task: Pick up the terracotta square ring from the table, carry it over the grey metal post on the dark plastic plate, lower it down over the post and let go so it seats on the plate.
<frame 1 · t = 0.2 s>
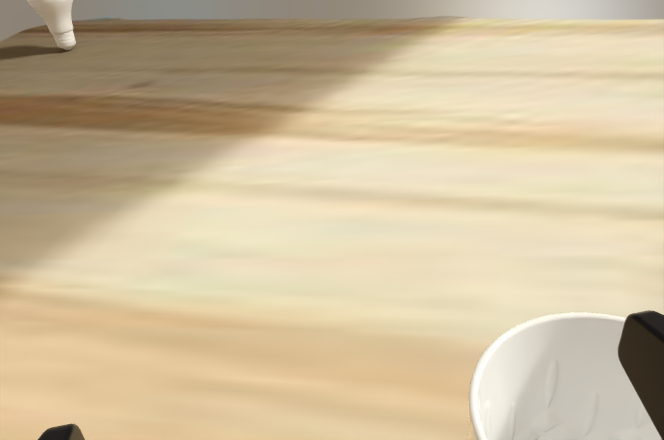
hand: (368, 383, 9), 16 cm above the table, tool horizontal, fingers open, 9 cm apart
lightbulb: (69, 51, 83), on the table
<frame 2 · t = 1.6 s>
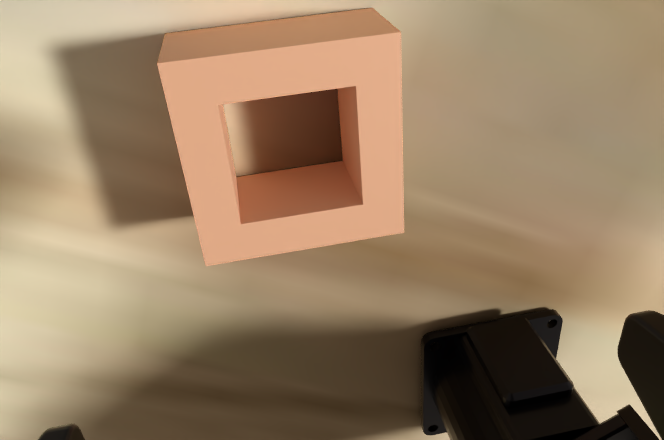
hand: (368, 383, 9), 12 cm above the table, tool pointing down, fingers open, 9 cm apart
ring: (283, 118, 19), on the table
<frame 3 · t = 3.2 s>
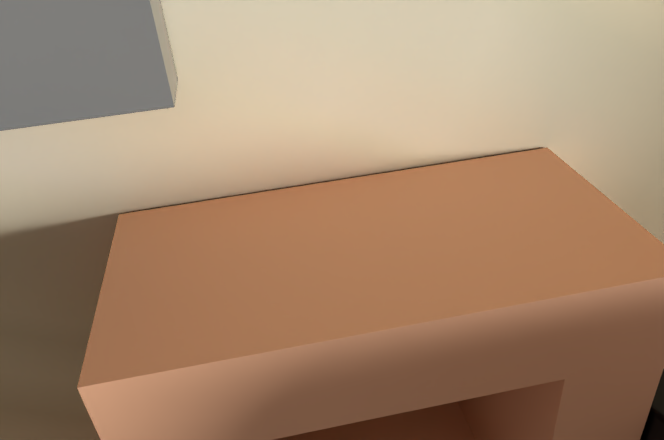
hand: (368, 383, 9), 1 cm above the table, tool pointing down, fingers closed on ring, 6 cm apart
ring: (354, 339, 10), on the table, touching gripper
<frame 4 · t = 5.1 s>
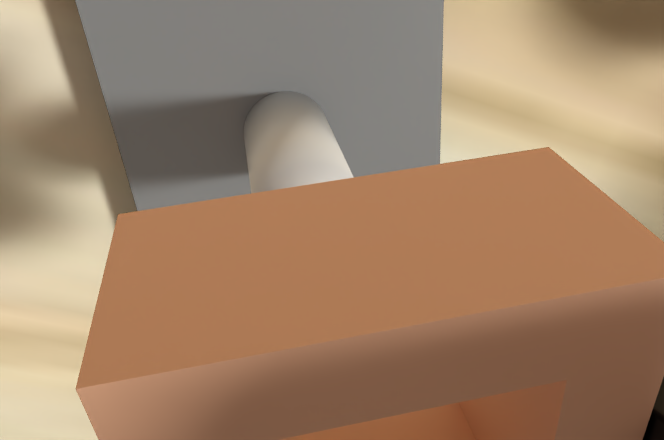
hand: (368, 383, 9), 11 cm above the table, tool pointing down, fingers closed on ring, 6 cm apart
ring: (354, 339, 10), point 10 cm above the table, touching gripper
post plate: (282, 120, 19), on the table
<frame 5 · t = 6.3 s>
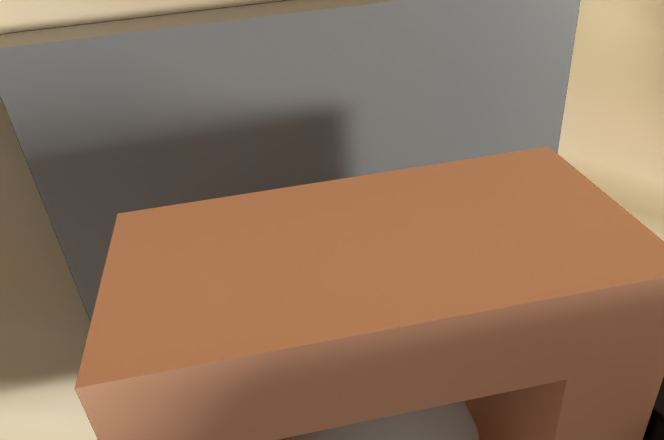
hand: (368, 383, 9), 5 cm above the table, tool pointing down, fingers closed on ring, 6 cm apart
ring: (354, 339, 10), point 4 cm above the table, touching gripper
post plate: (317, 231, 13), on the table
when the fingers open (3 cm above the table, at t = 7.0 s): ring drops 1 cm, resting on post plate.
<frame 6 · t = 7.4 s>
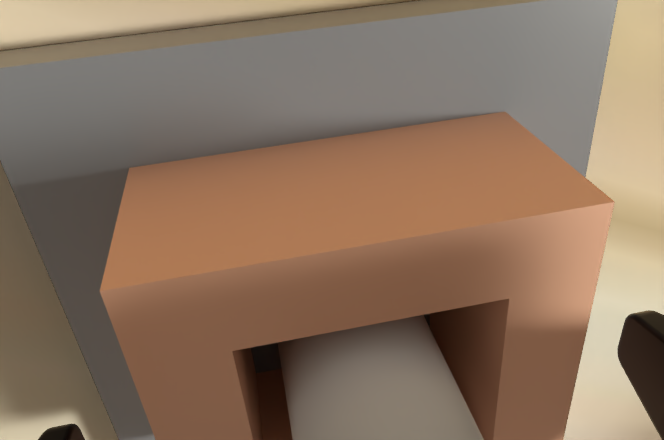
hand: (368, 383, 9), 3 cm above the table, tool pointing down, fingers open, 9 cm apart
ring: (337, 287, 11), point 1 cm above the table, touching post plate
post plate: (327, 258, 12), on the table
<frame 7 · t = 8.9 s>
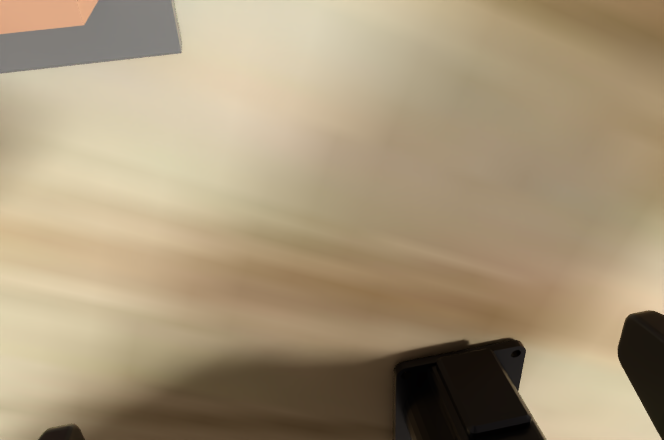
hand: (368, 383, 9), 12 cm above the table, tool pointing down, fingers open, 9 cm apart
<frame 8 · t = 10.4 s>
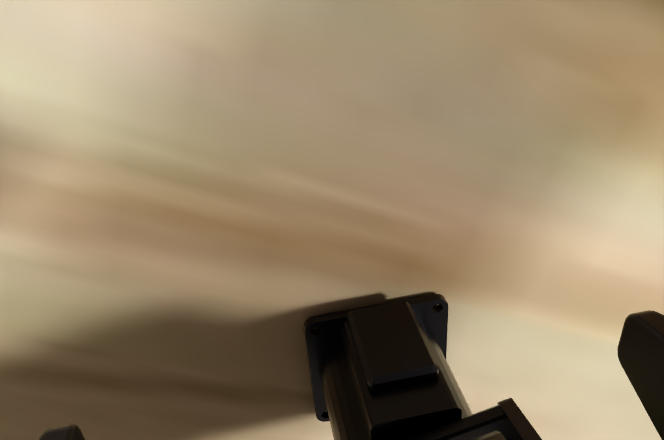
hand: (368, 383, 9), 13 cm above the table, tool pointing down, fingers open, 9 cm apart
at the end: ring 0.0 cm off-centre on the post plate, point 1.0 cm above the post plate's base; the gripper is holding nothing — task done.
